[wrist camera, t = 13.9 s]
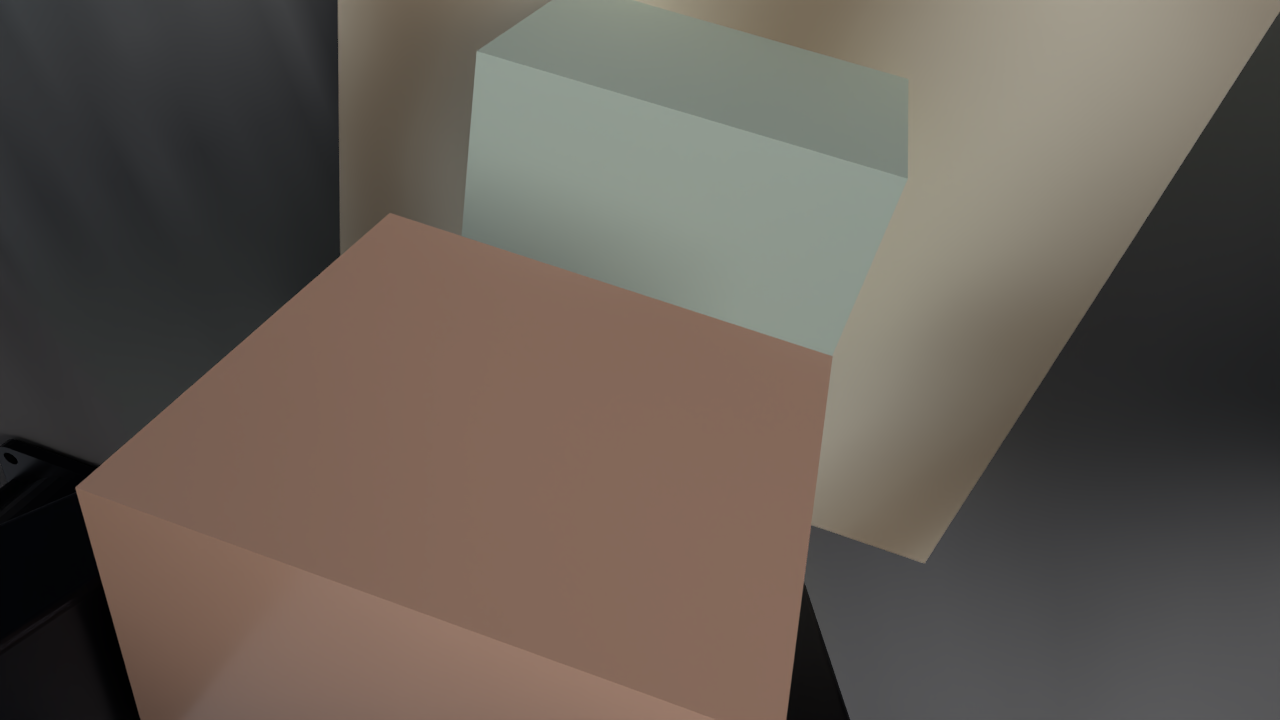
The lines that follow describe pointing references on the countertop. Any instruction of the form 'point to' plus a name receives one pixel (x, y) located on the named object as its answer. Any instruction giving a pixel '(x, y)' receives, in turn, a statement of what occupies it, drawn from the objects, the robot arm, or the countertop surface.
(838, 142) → the sage block
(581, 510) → the terracotta cube
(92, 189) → the countertop surface
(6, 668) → the robot arm
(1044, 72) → the birch plinth
